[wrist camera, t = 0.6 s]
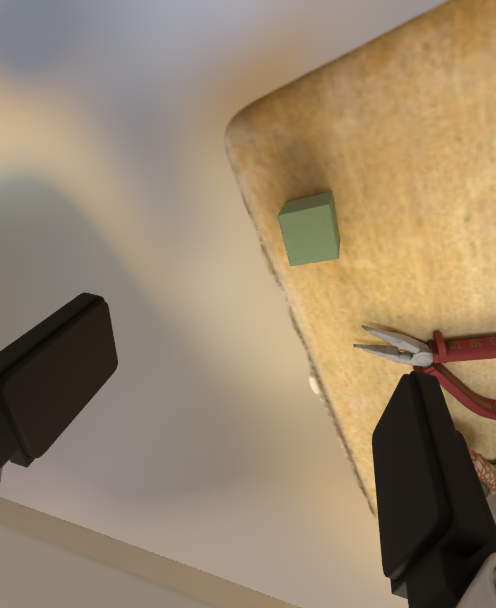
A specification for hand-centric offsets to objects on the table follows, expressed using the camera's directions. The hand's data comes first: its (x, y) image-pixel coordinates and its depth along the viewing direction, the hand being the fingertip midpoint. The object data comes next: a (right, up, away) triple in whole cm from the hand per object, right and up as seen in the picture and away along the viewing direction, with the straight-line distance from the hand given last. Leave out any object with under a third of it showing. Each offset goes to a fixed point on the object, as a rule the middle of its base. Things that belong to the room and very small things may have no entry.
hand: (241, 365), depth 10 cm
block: (+7, +10, +22) cm, 25 cm away
